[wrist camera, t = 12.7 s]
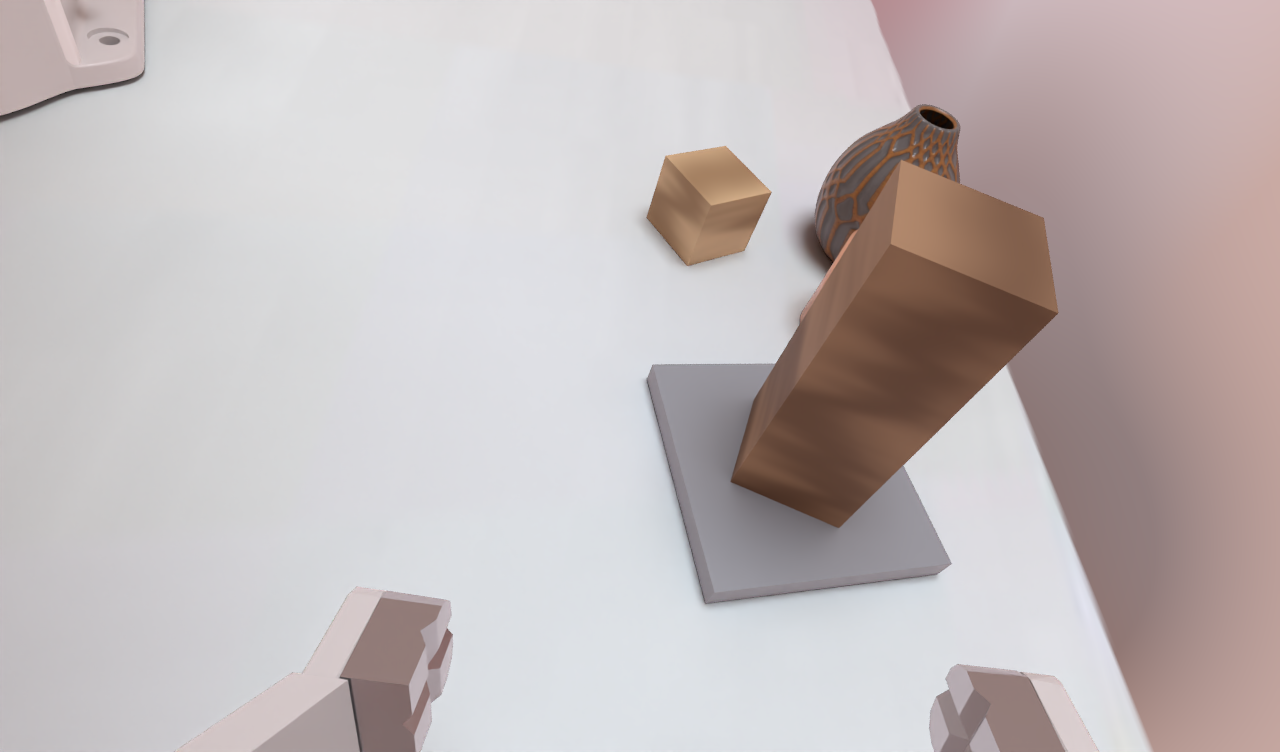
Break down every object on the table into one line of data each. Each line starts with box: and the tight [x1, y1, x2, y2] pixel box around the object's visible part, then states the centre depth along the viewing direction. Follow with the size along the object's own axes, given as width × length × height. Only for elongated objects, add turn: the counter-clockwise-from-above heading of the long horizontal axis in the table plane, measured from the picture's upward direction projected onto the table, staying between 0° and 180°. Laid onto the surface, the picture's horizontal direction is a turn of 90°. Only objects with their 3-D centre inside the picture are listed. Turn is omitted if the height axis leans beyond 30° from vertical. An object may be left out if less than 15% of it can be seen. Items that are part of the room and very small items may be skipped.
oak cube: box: [647, 146, 771, 266], centre depth 36 cm, size 4×4×4 cm
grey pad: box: [647, 364, 952, 603], centre depth 28 cm, size 10×10×1 cm
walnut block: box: [731, 160, 1058, 528], centre depth 23 cm, size 4×4×12 cm
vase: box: [815, 105, 960, 262], centre depth 36 cm, size 7×7×9 cm
